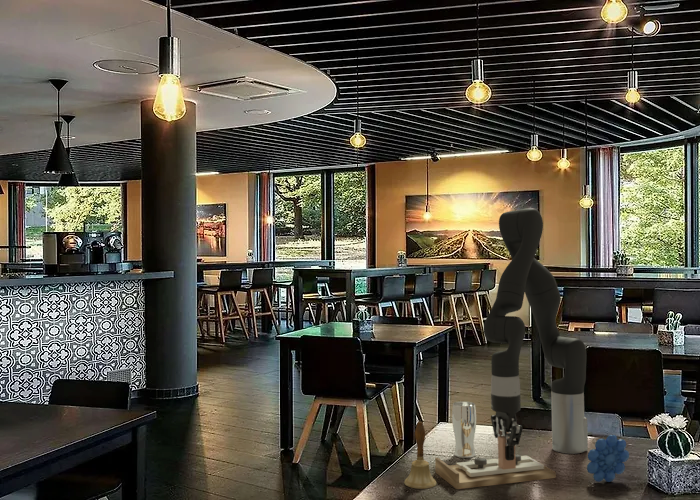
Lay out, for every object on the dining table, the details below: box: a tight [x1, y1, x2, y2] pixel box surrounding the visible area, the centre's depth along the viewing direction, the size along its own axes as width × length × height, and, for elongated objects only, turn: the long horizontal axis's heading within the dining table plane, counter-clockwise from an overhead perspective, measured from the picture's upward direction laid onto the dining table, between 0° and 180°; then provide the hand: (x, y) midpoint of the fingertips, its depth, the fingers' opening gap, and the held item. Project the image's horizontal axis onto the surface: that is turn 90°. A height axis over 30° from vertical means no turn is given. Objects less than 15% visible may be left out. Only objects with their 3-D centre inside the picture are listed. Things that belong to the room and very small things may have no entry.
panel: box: [455, 436, 545, 477], centre depth 187 cm, size 21×9×9 cm, turn 105°
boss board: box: [434, 453, 557, 490], centre depth 187 cm, size 28×14×4 cm, turn 105°
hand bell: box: [403, 420, 437, 490], centre depth 181 cm, size 8×8×16 cm
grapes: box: [586, 434, 630, 483], centre depth 181 cm, size 12×7×12 cm, turn 101°
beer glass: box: [451, 400, 477, 459], centre depth 205 cm, size 7×7×15 cm
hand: (506, 457), depth 184 cm, fingers closed on panel, 2 cm apart
